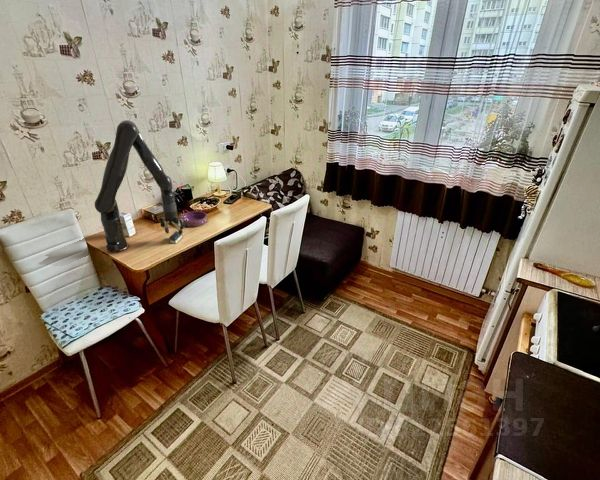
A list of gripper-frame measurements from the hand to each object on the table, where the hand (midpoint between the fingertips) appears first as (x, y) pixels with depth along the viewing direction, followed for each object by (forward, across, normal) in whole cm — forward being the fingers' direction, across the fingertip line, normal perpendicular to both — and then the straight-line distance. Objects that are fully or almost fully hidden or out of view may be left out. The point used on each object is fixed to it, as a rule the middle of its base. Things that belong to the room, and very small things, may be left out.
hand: (174, 233), depth 189 cm
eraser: (+4, 0, 0) cm, 5 cm away
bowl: (+4, 0, +27) cm, 28 cm away
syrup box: (+5, -33, +2) cm, 33 cm away
